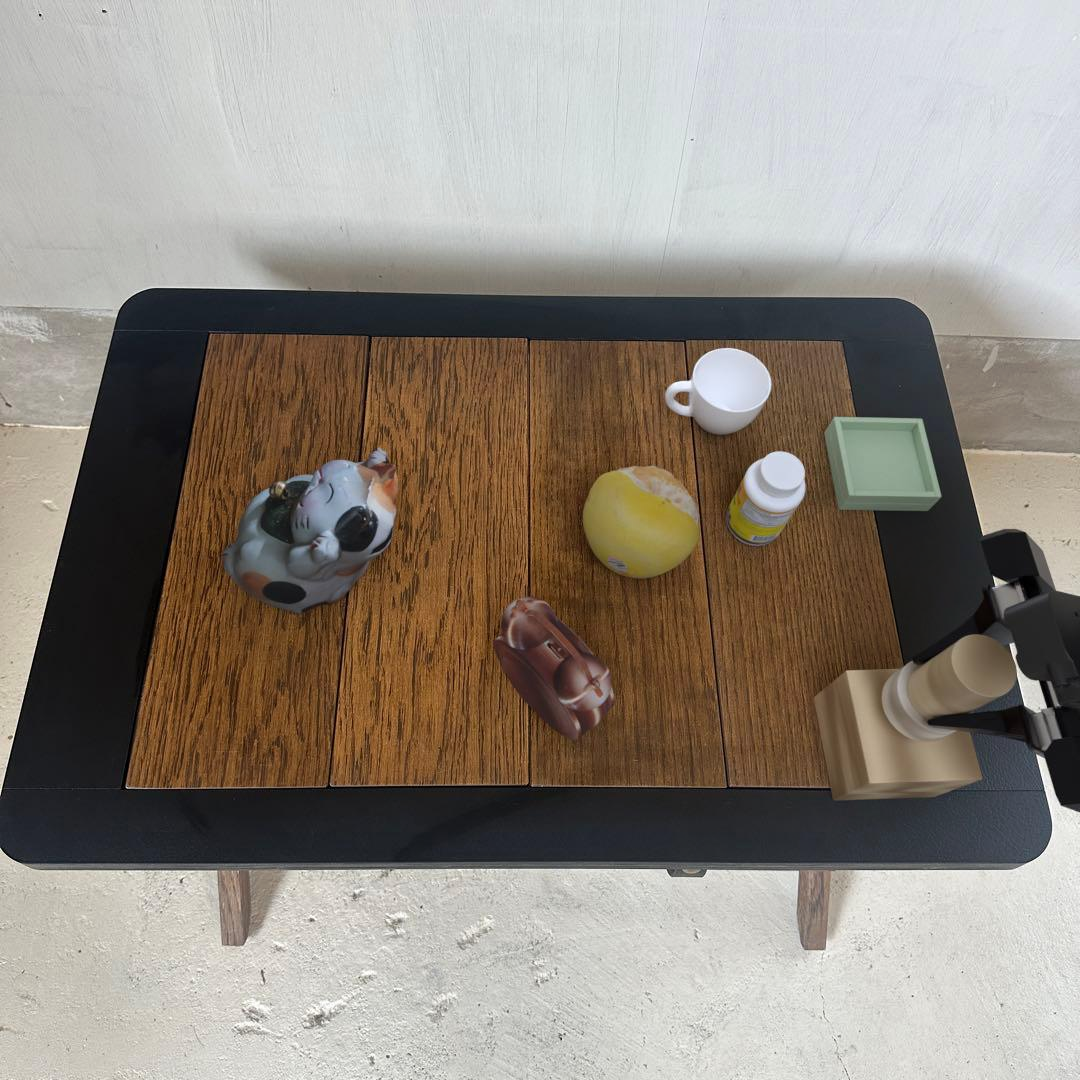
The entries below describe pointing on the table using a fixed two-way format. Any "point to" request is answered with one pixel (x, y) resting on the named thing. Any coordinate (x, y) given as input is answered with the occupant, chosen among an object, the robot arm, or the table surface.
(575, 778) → the table surface
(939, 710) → the tan cylindrical piece
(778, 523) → the supplement bottle
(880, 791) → the stand
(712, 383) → the cup
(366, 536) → the lucky cat figurine
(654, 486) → the fruit
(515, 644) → the alarm clock
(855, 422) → the mint green tray
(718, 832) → the table surface
